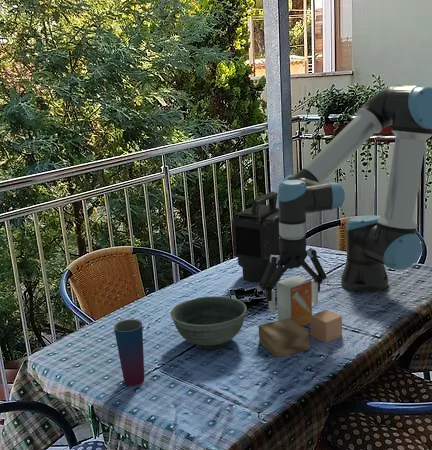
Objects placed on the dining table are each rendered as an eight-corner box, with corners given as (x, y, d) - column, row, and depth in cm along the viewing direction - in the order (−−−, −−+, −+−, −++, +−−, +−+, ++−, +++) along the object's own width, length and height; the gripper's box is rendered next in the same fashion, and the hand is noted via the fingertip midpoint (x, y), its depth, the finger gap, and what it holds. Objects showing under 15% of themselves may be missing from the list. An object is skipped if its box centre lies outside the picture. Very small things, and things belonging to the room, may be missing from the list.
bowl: (193, 368, 150) (190, 332, 147) (161, 337, 168) (158, 305, 165) (262, 346, 159) (261, 312, 156) (225, 319, 177) (223, 288, 174)
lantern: (253, 266, 219) (249, 188, 211) (296, 274, 209) (293, 192, 201) (230, 280, 207) (225, 197, 199) (274, 289, 197) (271, 202, 189)
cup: (121, 375, 149) (115, 320, 145) (148, 372, 149) (142, 318, 145) (119, 389, 142) (112, 332, 138) (147, 386, 143) (141, 330, 139)
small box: (291, 330, 167) (290, 288, 163) (277, 323, 172) (275, 281, 168) (313, 322, 171) (312, 280, 167) (298, 315, 176) (297, 274, 172)
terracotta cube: (326, 329, 166) (326, 309, 165) (342, 336, 162) (342, 316, 160) (310, 335, 163) (310, 315, 162) (326, 343, 158) (326, 322, 157)
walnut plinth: (292, 334, 165) (291, 317, 163) (309, 349, 155) (309, 332, 154) (259, 341, 161) (258, 324, 160) (275, 357, 152) (274, 340, 151)
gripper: (325, 226, 171) (325, 294, 177) (246, 238, 164) (248, 309, 169) (338, 233, 165) (338, 303, 170) (256, 245, 157) (259, 319, 162)
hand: (293, 306), depth 170 cm, fingers open, 13 cm apart
